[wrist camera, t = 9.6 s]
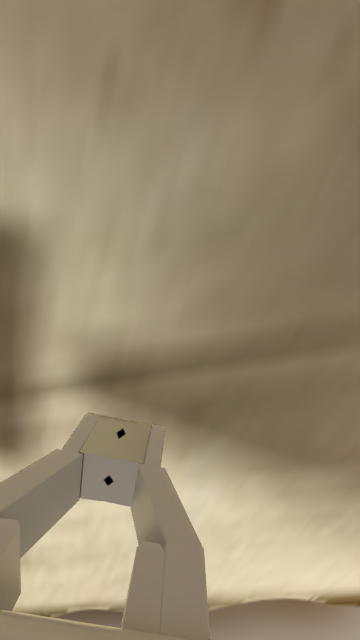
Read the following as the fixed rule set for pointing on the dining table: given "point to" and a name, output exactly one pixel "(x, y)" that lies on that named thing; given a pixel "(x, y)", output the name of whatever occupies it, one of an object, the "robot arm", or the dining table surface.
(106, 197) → the dining table surface
